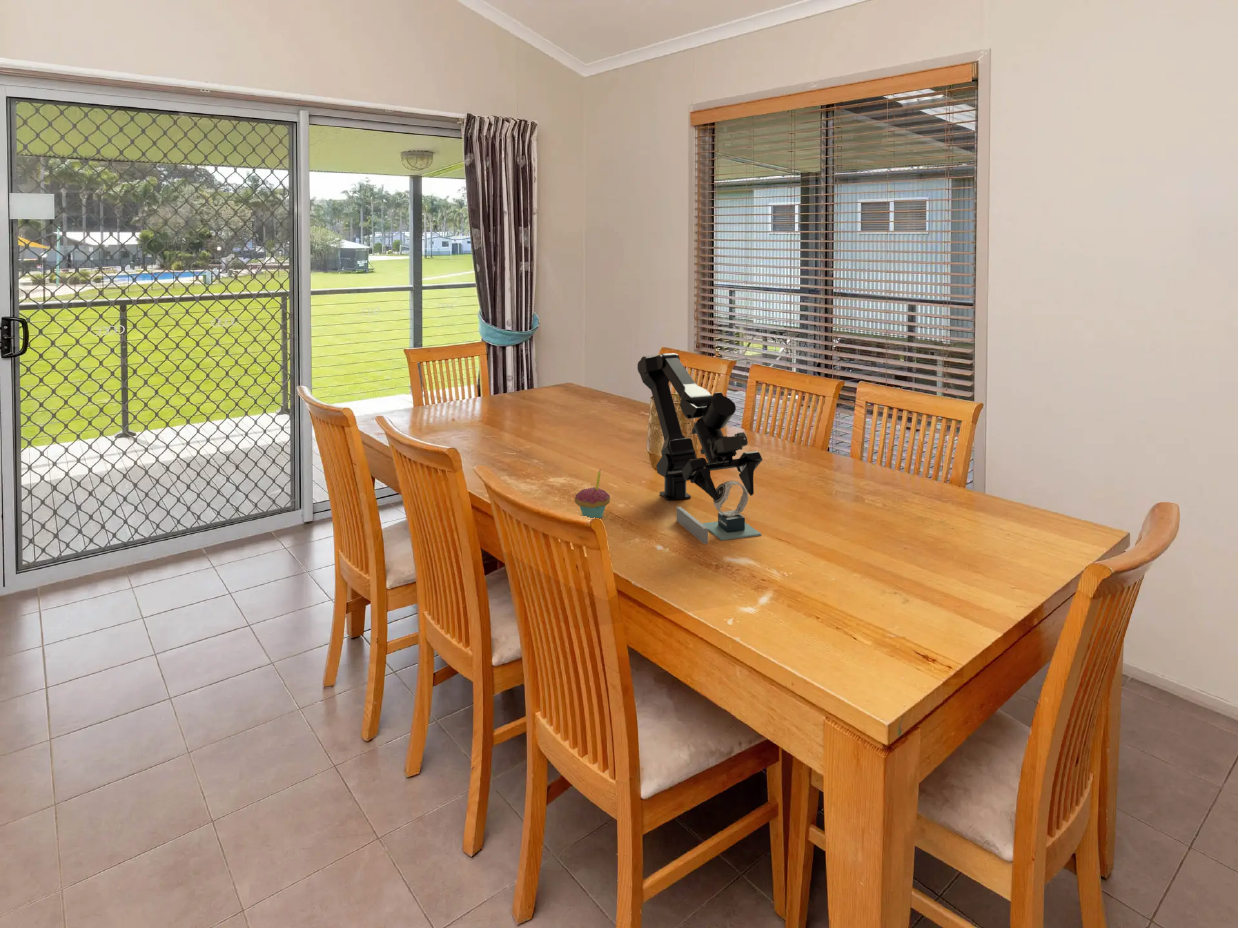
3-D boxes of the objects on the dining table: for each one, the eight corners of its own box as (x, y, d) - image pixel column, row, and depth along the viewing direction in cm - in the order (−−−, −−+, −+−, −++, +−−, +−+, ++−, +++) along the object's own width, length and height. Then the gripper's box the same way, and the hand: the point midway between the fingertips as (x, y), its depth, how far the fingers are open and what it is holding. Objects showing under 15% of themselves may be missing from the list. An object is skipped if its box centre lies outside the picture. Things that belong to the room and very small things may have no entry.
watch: (710, 526, 194) (709, 481, 191) (741, 521, 196) (741, 477, 193) (719, 533, 189) (719, 487, 186) (752, 529, 191) (752, 483, 188)
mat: (701, 524, 196) (701, 523, 196) (739, 520, 199) (739, 518, 199) (721, 540, 186) (721, 538, 185) (761, 535, 189) (761, 533, 188)
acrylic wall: (676, 520, 198) (676, 507, 197) (680, 520, 199) (680, 506, 198) (703, 543, 184) (704, 528, 183) (707, 543, 184) (708, 528, 183)
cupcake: (609, 510, 206) (609, 464, 203) (610, 521, 198) (610, 473, 195) (575, 511, 206) (574, 464, 203) (574, 522, 198) (573, 474, 195)
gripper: (688, 425, 185) (712, 485, 178) (759, 417, 192) (784, 475, 186) (672, 450, 194) (694, 509, 188) (740, 442, 201) (764, 498, 195)
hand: (734, 497), depth 189 cm, fingers open, 9 cm apart
